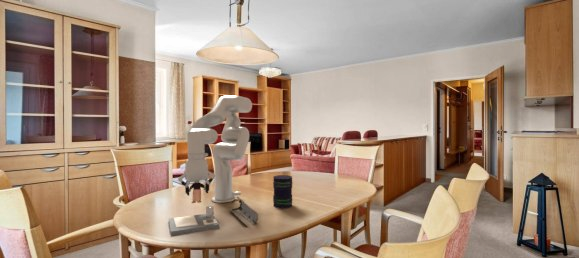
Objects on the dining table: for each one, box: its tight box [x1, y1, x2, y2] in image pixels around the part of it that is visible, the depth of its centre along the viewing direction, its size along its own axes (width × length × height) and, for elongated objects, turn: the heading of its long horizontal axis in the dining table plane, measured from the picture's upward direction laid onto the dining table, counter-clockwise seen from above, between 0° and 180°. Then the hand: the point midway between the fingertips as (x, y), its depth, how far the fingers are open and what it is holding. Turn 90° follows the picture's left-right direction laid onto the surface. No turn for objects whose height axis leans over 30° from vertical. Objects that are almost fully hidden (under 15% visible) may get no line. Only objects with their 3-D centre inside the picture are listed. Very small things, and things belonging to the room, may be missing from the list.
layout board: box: [168, 213, 220, 236], centre depth 117 cm, size 18×16×2 cm
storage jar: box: [272, 174, 293, 210], centre depth 145 cm, size 10×10×15 cm
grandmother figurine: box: [189, 181, 206, 204], centre depth 132 cm, size 8×4×13 cm, turn 117°
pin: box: [205, 205, 215, 223], centre depth 116 cm, size 3×3×6 cm
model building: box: [227, 196, 259, 227], centre depth 127 cm, size 7×7×25 cm
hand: (197, 193), depth 132 cm, fingers closed on grandmother figurine, 7 cm apart
